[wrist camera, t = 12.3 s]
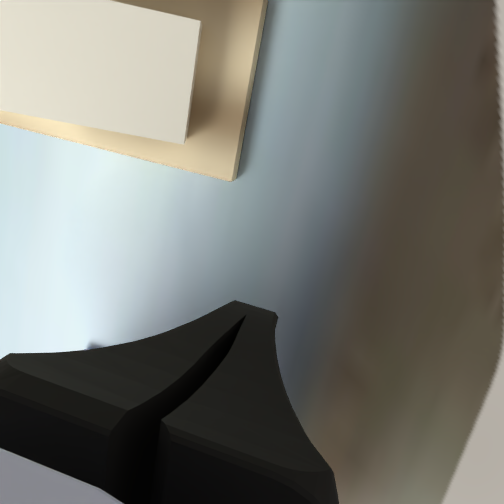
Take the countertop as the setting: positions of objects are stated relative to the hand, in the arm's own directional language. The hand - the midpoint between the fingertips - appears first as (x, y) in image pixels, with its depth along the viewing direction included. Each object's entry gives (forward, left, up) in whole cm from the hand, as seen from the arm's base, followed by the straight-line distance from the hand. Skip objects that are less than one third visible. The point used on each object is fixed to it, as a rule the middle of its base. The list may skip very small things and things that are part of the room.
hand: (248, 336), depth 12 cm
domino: (+6, +6, -9) cm, 12 cm away
